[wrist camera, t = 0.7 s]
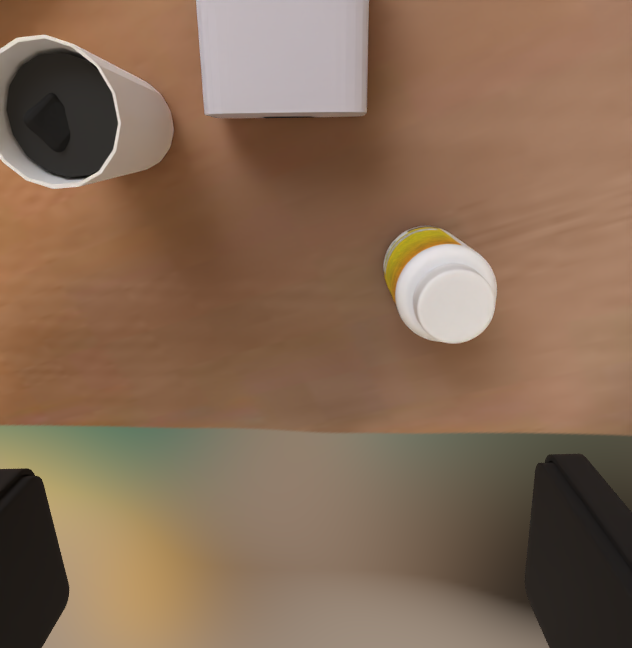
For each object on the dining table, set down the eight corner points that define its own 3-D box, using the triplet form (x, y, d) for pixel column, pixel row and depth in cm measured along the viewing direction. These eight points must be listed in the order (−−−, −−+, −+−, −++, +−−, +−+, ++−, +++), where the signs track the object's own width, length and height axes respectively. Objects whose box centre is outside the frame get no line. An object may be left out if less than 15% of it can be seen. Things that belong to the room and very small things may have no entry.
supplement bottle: (367, 278, 36) (380, 326, 26) (410, 209, 35) (441, 231, 25) (433, 317, 37) (469, 376, 27) (479, 250, 35) (535, 288, 26)
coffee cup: (130, 199, 35) (54, 217, 25) (56, 116, 33) (-53, 103, 24) (202, 133, 33) (150, 126, 24) (128, 43, 32) (43, -1, 22)
